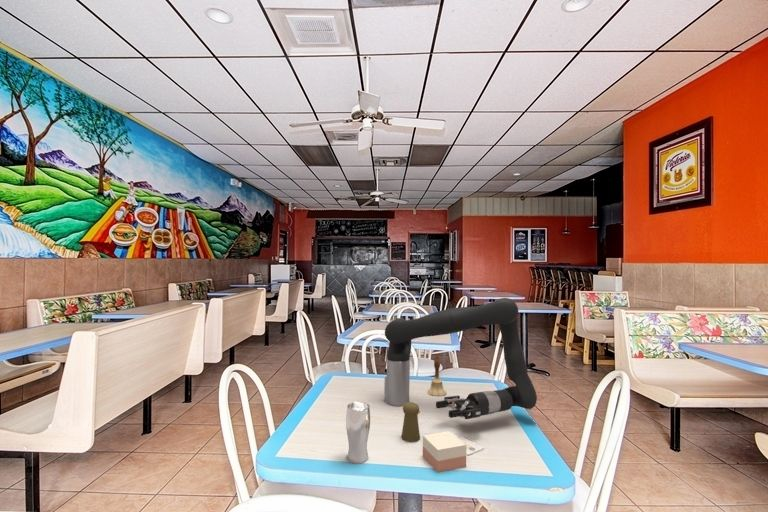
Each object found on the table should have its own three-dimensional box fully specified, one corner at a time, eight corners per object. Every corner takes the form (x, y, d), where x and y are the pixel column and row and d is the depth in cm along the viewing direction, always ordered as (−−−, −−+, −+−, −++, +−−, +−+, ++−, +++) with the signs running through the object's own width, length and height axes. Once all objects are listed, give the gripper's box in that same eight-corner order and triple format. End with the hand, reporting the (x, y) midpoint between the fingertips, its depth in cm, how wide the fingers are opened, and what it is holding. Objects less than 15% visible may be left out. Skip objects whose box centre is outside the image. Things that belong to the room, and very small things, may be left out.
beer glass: (373, 454, 114) (373, 403, 114) (364, 466, 107) (365, 412, 107) (351, 450, 116) (352, 400, 116) (341, 461, 109) (342, 408, 109)
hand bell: (423, 391, 169) (423, 354, 169) (438, 388, 172) (439, 352, 173) (434, 397, 161) (435, 359, 161) (450, 394, 165) (451, 357, 165)
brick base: (422, 456, 113) (422, 435, 113) (449, 451, 116) (449, 431, 116) (437, 472, 105) (437, 450, 105) (466, 466, 108) (466, 444, 108)
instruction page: (444, 442, 122) (444, 441, 122) (459, 436, 126) (459, 435, 126) (468, 455, 114) (468, 454, 114) (483, 449, 118) (483, 447, 118)
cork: (419, 443, 121) (419, 407, 121) (399, 441, 122) (400, 406, 122) (421, 434, 127) (421, 401, 127) (402, 432, 128) (403, 399, 128)
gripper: (471, 386, 141) (432, 391, 135) (496, 399, 128) (453, 405, 122) (472, 406, 141) (432, 413, 135) (496, 421, 127) (453, 429, 122)
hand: (442, 409), depth 128 cm, fingers open, 8 cm apart
